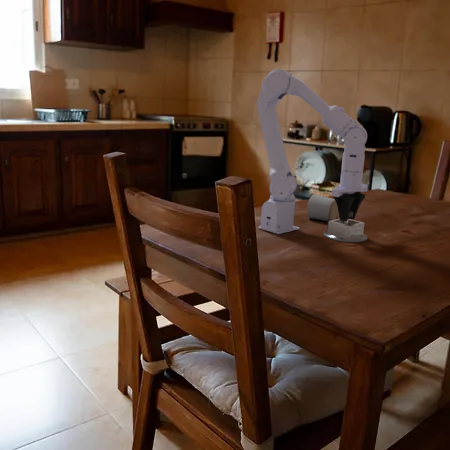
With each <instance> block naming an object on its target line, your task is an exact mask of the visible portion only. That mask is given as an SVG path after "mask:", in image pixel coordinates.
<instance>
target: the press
mask: <svg viewBox="0 0 450 450" xmlns="http://www.w3.org/2000/svg"><path fill="white" fill-rule="evenodd" d="M364 231H365V222H363V221H358V220H355V219H349V220H348V225H346V224H345V221H342V220H340V219H339V218H336V219H335V220H334V219H328V221H327V230H324V231H323V236H324V237H325V238H327V239H329V240H332V241H336V242H339V243H340V242H342V243H352V244H354V243H363V242H366V241H367V240H368V236H367V235H366V234H365V233H364Z"/></svg>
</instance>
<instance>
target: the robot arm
mask: <svg viewBox="0 0 450 450" xmlns="http://www.w3.org/2000/svg"><path fill="white" fill-rule="evenodd" d="M286 95H291V96H295V97H298V98H300V99H301V100H302V101H304V102H305V103H306V104H307V105H309V106H310V107H311V108H312V109H314V110H315V111H316V112H317V113H318V114H320V116H321V122H322V124H323V125H325V126H326V127H327V128H328V129H329V130H330V131H332V132H333V133H334V134H335V135H336V137H338V138H343V143H344V149H343V150H344V151H343V153H342V159H341V170H340V171H341V172H340V178H339V179H340V180H339V181H340V182H339V185H338V186H336V187H334V188H331V197H333V199H335V201H336V204H337V207H338V217H339V218H338V219H340V220H342V221H347V220H348V217H349V212H350V210H351V211H353V217H352V218H349V219H351V220H355V218H356V215H357V213H358V212H359V211H358V210H359V208H360V206H361V204H362V202H363V201H364V199H366V194H365V193H366V192H368V187H369V184H364V183H363V176H364V165H365V156H366V155H365V151H366V145H365V144H366V143H367V140H368V133H367V130H366V129H365V128H364V126H363V125H361V124H358V123H359V121H358V120H357V119H353V118H352V117H351V116H350V115H348V114H347V112H345V111H346V109H345V108H344V107H343V106H340V107H339V106H338V105H329V104H328V103H327V102H326V101H325V100H324V99H322V97H321V96H320V95H318V94H317V93H316V92H315V91H314V90H313V88H311V87H310V86H309V85H307V83H305V82H304V81H303V80H301V79H300V78H298V77H296V76H294V75H293V74H292V72H290V71H288V70H283V69H281V68H275V69H272V70H270V71H269V73H267V75H265V77H264V78H263V80H262V83H261V89H260V91H259V95H258V97H257V98H258V99H257V101H256V110H257V114H258V118H259V123H260V127H261V132H262V136H263V140H264V146H265V149H266V154H267V159H268V163H269V166H270V167H269V168H270V169H269V178H270V184H269V193H270V195H269V199H268V200H266V201H265V202H264V203H263V204H262V206H261V212H260V213H261V215H260V225H259V226H258V229H260V230H264V231H266V232H270V233H274V234H276V235H277V234H278V235H281V234H284V233H288V232H293V231H297V230H300V227H299V226H295V225H294V224H295V223H294V219H295V209H296V208H295V207H296V196H295V195H294V192H295V191H296V190H297V188H298V181H297V179H296V177H295V176H294V175H293V173H292V169H291V166H290V165H289V162H288V159H287V154H286V149H285V145H284V140H283V137H282V132H281V127H280V126H281V125H280V123H279V118H278V113H277V106H278V105H279V103H280V102H281V100H283V99H282V98H284V97H285V96H286ZM362 192H363V193H362Z"/></svg>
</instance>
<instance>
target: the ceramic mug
mask: <svg viewBox="0 0 450 450" xmlns="http://www.w3.org/2000/svg"><path fill="white" fill-rule="evenodd" d="M306 215H307V217H308V218H309V219H313V220H318V221H319V220H320V221H323V222H328V219H334V220H335V219H337V216H339V212H338V207H337V204H336V201H335V199H334V198H332V197H329V196H328V197H327V196H324V195H319V194H314V193H313V194H312V195H311V197H310V198H309V200H308V203H307V206H306Z"/></svg>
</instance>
